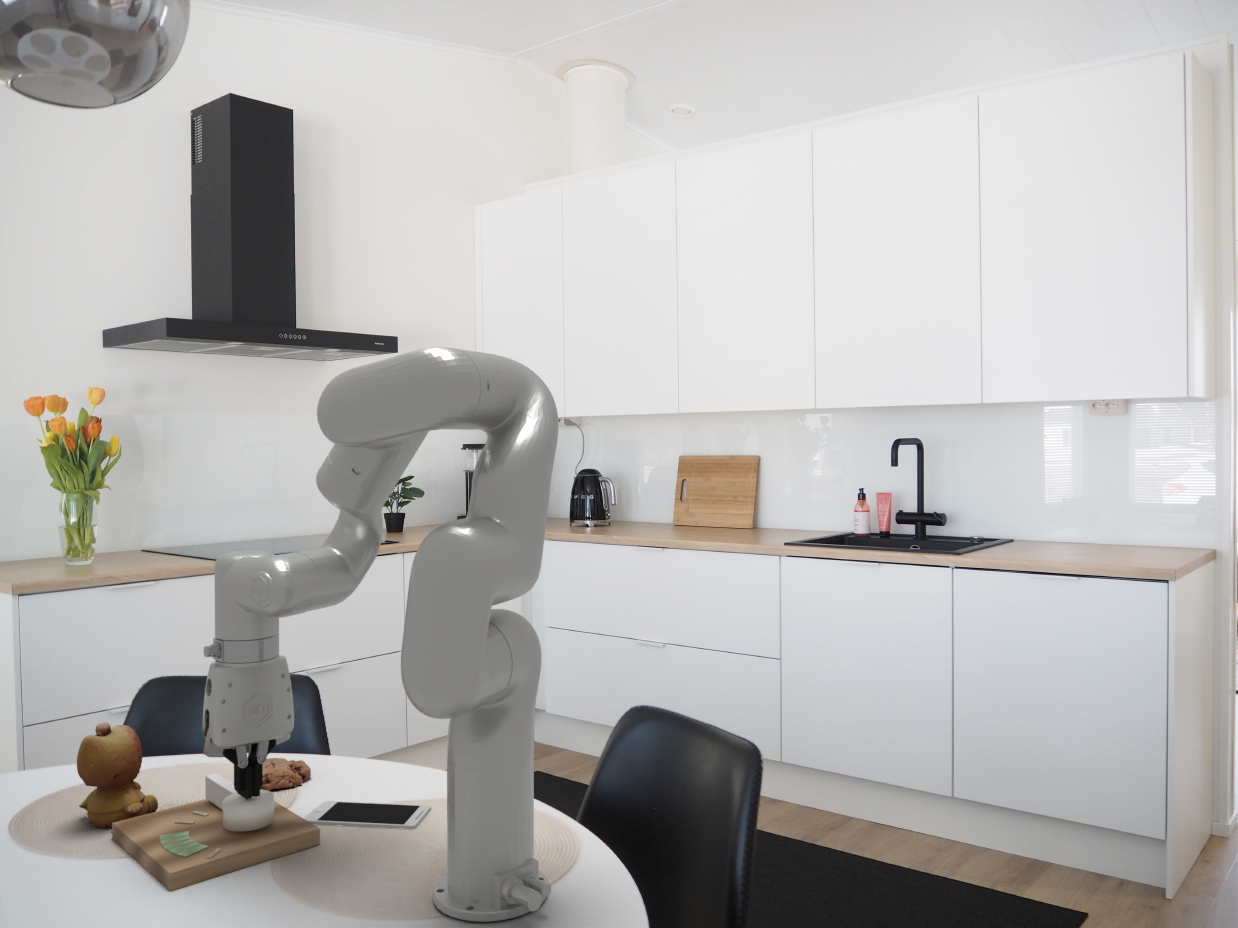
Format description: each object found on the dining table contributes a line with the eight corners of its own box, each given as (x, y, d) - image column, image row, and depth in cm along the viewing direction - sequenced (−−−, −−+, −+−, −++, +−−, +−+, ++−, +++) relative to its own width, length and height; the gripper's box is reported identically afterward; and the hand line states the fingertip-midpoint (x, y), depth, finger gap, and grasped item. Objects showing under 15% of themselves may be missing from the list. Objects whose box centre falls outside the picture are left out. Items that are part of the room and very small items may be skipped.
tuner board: (319, 843, 120) (319, 826, 120) (170, 890, 107) (169, 871, 107) (251, 801, 134) (251, 785, 134) (112, 838, 122) (112, 821, 122)
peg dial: (282, 821, 121) (282, 798, 121) (234, 835, 117) (234, 810, 116) (233, 790, 131) (232, 769, 131) (188, 802, 127) (187, 779, 127)
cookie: (242, 773, 147) (242, 753, 147) (314, 768, 149) (314, 749, 149) (229, 796, 137) (229, 776, 137) (307, 791, 139) (307, 770, 139)
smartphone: (324, 806, 134) (324, 799, 134) (431, 811, 132) (431, 804, 132) (301, 826, 127) (301, 819, 127) (414, 832, 125) (414, 825, 125)
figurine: (172, 809, 131) (152, 711, 127) (132, 844, 124) (109, 741, 120) (112, 802, 134) (91, 706, 130) (70, 835, 127) (46, 735, 123)
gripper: (198, 664, 112) (199, 819, 113) (317, 645, 123) (318, 787, 123) (174, 653, 118) (175, 802, 118) (290, 636, 128) (291, 773, 129)
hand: (248, 794), depth 121 cm, fingers closed
